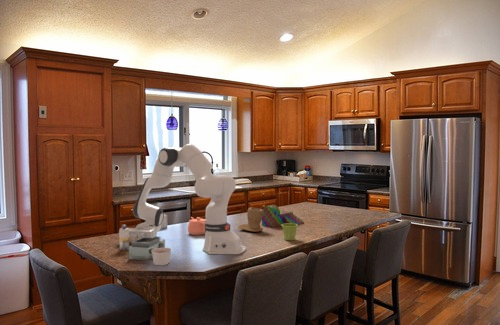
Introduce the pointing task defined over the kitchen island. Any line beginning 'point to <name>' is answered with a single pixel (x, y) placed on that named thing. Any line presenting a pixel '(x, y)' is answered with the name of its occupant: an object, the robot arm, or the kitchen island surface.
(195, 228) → the teapot
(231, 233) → the robot arm
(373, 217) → the kitchen island surface
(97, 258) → the kitchen island surface
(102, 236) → the kitchen island surface
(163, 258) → the candle
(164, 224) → the medicine box
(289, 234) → the plant pot
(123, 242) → the frosted glass bottle
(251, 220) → the brown hat
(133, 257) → the green tray box
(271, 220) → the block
